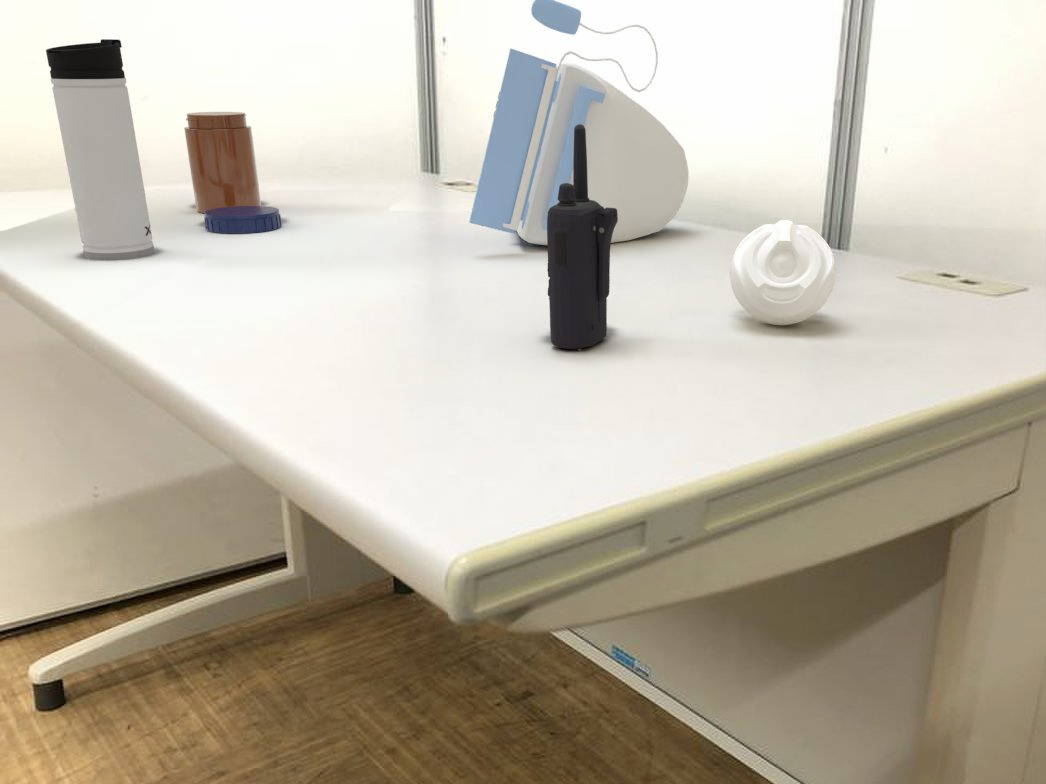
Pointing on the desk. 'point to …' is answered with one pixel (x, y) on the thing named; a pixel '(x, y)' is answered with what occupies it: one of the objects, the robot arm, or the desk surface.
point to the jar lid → (242, 219)
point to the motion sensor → (782, 273)
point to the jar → (222, 160)
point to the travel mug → (101, 149)
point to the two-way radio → (578, 259)
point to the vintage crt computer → (548, 145)
